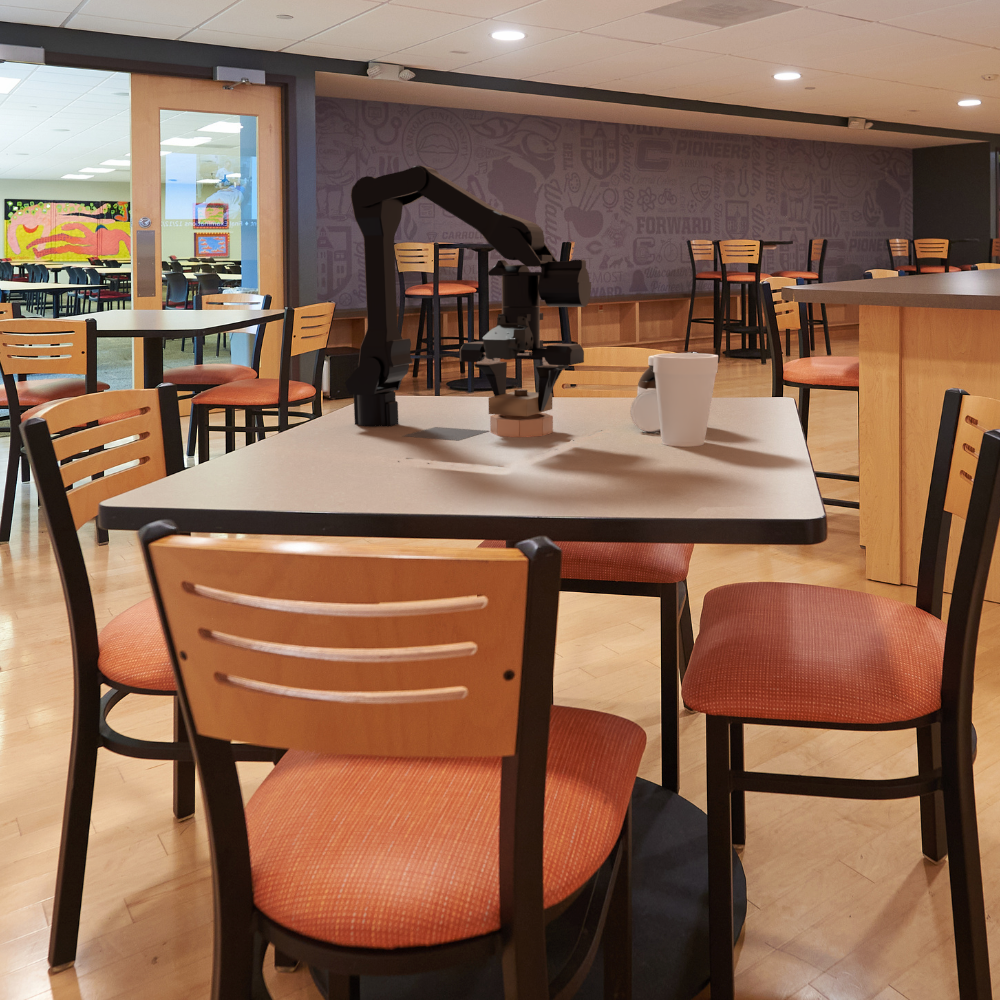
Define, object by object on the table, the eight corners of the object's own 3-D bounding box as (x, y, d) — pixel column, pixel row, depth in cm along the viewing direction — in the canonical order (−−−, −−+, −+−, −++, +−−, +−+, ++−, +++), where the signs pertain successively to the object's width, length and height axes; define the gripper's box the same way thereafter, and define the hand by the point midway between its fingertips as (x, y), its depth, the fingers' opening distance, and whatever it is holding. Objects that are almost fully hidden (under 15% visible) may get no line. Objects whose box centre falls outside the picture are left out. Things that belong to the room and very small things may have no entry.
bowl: (482, 440, 151) (482, 418, 151) (509, 432, 159) (508, 410, 158) (535, 444, 147) (535, 421, 146) (559, 435, 155) (559, 413, 154)
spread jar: (692, 423, 167) (694, 354, 165) (708, 433, 156) (711, 359, 154) (622, 424, 167) (623, 355, 164) (633, 434, 156) (634, 360, 153)
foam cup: (714, 449, 142) (718, 358, 139) (650, 447, 144) (652, 358, 141) (714, 438, 151) (717, 353, 148) (653, 437, 153) (655, 352, 150)
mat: (401, 442, 150) (401, 435, 150) (435, 433, 159) (435, 426, 159) (458, 446, 146) (458, 440, 146) (490, 437, 155) (490, 430, 154)
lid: (488, 414, 150) (488, 392, 149) (515, 406, 158) (515, 386, 157) (527, 416, 147) (527, 394, 146) (552, 409, 155) (552, 388, 154)
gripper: (440, 308, 146) (442, 412, 149) (555, 309, 138) (554, 420, 141) (476, 305, 156) (477, 404, 159) (585, 306, 147) (584, 410, 151)
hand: (521, 409), depth 152 cm, fingers closed on lid, 6 cm apart
